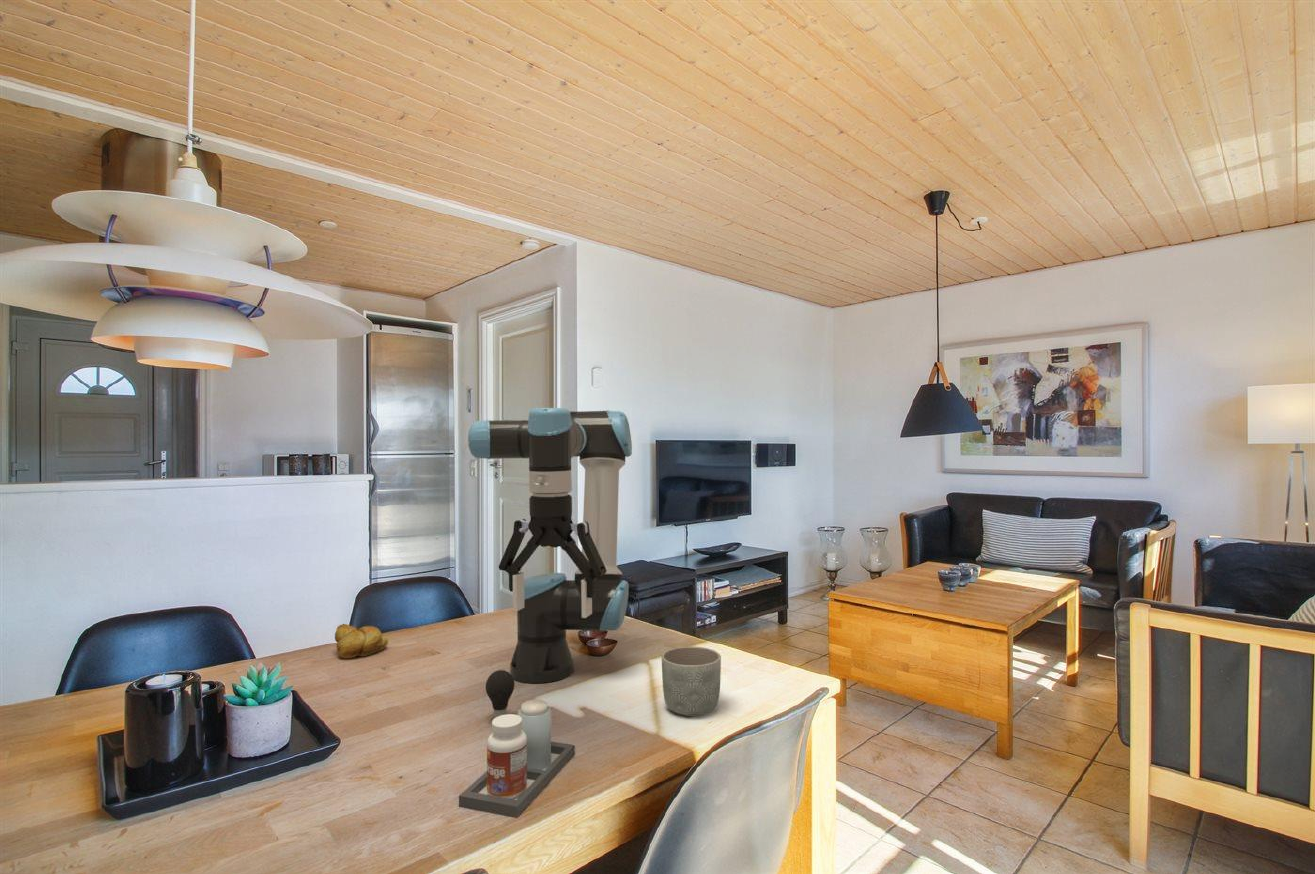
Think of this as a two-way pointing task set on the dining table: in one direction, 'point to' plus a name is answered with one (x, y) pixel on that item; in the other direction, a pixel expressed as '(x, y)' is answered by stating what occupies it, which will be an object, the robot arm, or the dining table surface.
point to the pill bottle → (507, 757)
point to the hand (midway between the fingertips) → (552, 612)
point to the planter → (691, 679)
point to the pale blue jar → (537, 732)
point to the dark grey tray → (536, 782)
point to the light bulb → (500, 691)
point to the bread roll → (358, 641)
